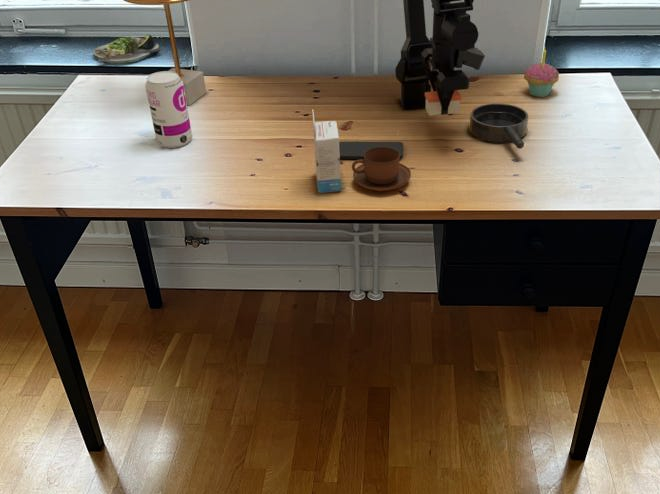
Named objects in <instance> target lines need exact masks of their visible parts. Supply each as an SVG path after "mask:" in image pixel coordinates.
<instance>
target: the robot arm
mask: <svg viewBox="0 0 660 494" xmlns="http://www.w3.org/2000/svg"><path fill="white" fill-rule="evenodd" d="M402 1H403V3H402V4H403V12H404V14H403V15H404V28H405V39H404V42H403V44H402V47H401V49H400V59H399V60H398V63H397V65H396V67H395V71H394V72H395V78H396V80H397V81H398V82H400V88H401V89H400V97H399V98H398V100H399V102H400V104H401V106H402V107H403V109H404V110H413V109H421V108H422V109H423V108H426V97H425V92H434V91H437V95H438V98H439V101H440V104H441V107H442V110H443V111H446V110H448V107H449V104H450V102H451V99H452V96H453V93H454V91H455V90H457V91H461V90H468V89H470V78H469V76H468V75H467V74H466V73H465V72H464V71H463V70H462V69H461V68H463V66H466V67H470V68H472V69H474V70H476V71H479V70H480V69H481V66H482V64H483V61H484V59H485V57H486V55H485V54H484V53H483V51H482V50H481V49H479V48H478V47H476V43H477V41H478V39H479V30H478V27H477V25H476V24H475V23H474V22H473V21H471V15H470V14H469V13H467V12H470V11H473V10H474V5H473V3H474V1H475V0H463V1H462V0H430V2H431V8H432V9H433V12H432V13H433V14H432V19H433V20H432V37H428V36H427V26H426V14H425V13H426V12H425V3H424V2H425V1H424V0H402ZM455 68H456V69H455Z"/></svg>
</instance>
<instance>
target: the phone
mask: <svg viewBox="0 0 660 494" xmlns="http://www.w3.org/2000/svg"><path fill="white" fill-rule="evenodd" d="M375 147H389V148H393V149H395V150H397V151H398V152H399V154H400V160H401V159H402V158H403V156H404V142H402V141H339V151H340V160H364V153H365V152H366V151H367V150H369V149H371V148H375Z"/></svg>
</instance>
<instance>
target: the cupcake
mask: <svg viewBox="0 0 660 494" xmlns="http://www.w3.org/2000/svg"><path fill="white" fill-rule="evenodd" d="M546 56H547V50H546V47H544V49H543V51H542V59H541V62H540V63H535V64H532V65H531V66H529V67H527V68H526V69H525V71H524V74H523V79H524V80H525V81H526V82H527V84H528V89H529V94H530V95H531V96H533V97H536V98H537V97H538V98H545V97H547V96H549V95H550V93H551V91H552V89H553V87H554V85H555V83H557V82H559V79H560V77H559V75H560V72H559V70H558V69H557V68H556V67H555V66H553V65H551V64H549V63H546V62H545V61H546Z"/></svg>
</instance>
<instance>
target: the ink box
mask: <svg viewBox="0 0 660 494" xmlns="http://www.w3.org/2000/svg"><path fill="white" fill-rule="evenodd" d="M311 110H312V111H311V114H312V125H313V126H312V128H313V129H312V131H313V146H314V163H315V175H316V183H317V192H318V193H319V194H322V193H324V194H325V193H334V192H335V193H337V192H341V191H342V177H341V159H340V151H339V142H340V136H339V129H338V124H337V121H336V120H327V121H316V122H315V120H316V119H315V113H314V111H315V110H314V108H312V109H311Z"/></svg>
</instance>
